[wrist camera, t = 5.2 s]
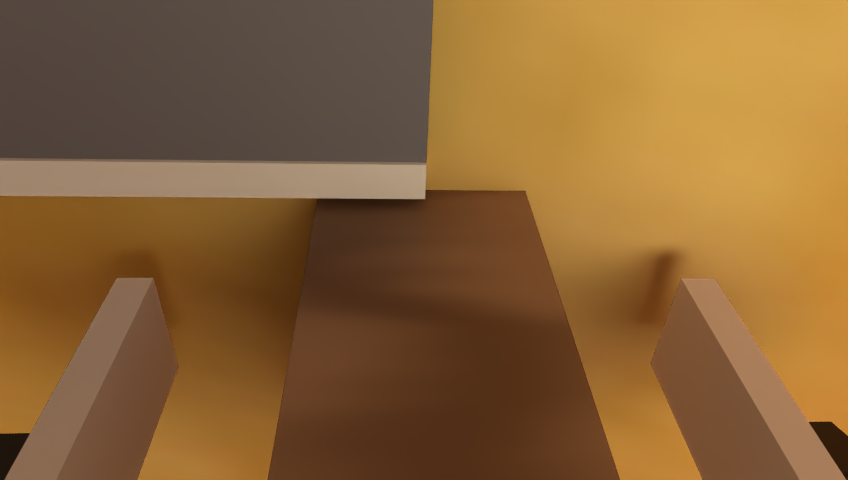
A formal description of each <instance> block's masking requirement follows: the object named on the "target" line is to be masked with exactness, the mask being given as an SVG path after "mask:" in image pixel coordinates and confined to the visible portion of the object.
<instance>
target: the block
mask: <svg viewBox="0 0 848 480" xmlns="http://www.w3.org/2000/svg"><path fill="white" fill-rule="evenodd" d="M268 480H620V478H619V475H618V472H617V469H616V466H615V463H614V460H613V457H612V454H611V451H610V448H609V445H608V442H607V439H606V435H605V432H604V429H603V426H602V423H601V420H600V417H599V414H598V411H597V408H596V405H595V402H594V399H593V396H592V393H591V390H590V387H589V384H588V381H587V378H586V375H585V372H584V369H583V366H582V362H581V359H580V356H579V353H578V350H577V347H576V344H575V341H574V338H573V335H572V332H571V329H570V326H569V323H568V320H567V317H566V314H565V311H564V308H563V305H562V302H561V299H560V296H559V292H558V289H557V286H556V283H555V280H554V277H553V274H552V271H551V268H550V265H549V262H548V259H547V256H546V253H545V250H544V247H543V244H542V241H541V238H540V235H539V232H538V229H537V226H536V223H535V219H534V216H533V213H532V210H531V207H530V204H529V201H528V198H527V195H526V192H525V191H461V190H425V199H342V198H318V199H317V204H316V210H315V216H314V221H313V227H312V233H311V238H310V244H309V249H308V255H307V261H306V266H305V272H304V278H303V283H302V289H301V295H300V300H299V306H298V312H297V317H296V323H295V328H294V334H293V340H292V345H291V351H290V357H289V362H288V368H287V374H286V379H285V385H284V390H283V396H282V402H281V407H280V413H279V419H278V424H277V430H276V436H275V441H274V447H273V452H272V458H271V464H270V469H269V475H268Z"/></svg>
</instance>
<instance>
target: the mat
mask: <svg viewBox="0 0 848 480" xmlns="http://www.w3.org/2000/svg"><path fill="white" fill-rule="evenodd" d="M432 21H433V0H0V196H76V197H209V198H342V199H425V190H426V167H427V164H426V159H427V136H428V113H429V90H430V67H431V44H432Z"/></svg>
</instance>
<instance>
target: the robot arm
mask: <svg viewBox="0 0 848 480" xmlns="http://www.w3.org/2000/svg"><path fill="white" fill-rule="evenodd" d="M651 365H652V368H653V370H654V372H655V374H656V377H657V379H658V381H659V383H660V385H661V388H662V390H663V392H664V394H665V397H666V399H667V401H668V403H669V405H670V408H671V410H672V412H673V414H674V417H675V419H676V421H677V423H678V426H679V428H680V430H681V432H682V434H683V437H684V439H685V441H686V443H687V446H688V448H689V450H690V452H691V455H692V457H693V459H694V461H695V463H696V466H697V468H698V470H699V472H700V475H701V477H702V479H703V480H848V436H847V435H846V434H845V433H844V432H842V431H841V430H840V429H839V428H838V427H837V426H835V425H834V424H833V423H832V422H808V421H807V419H806V417H805V416H804V414H803V413H802V411H801V410H800V408H799V407H798V405H797V404H796V402H795V401H794V399H793V398H792V396H791V395H790V393H789V392H788V390H787V388H786V387H785V385H784V384H783V382H782V381H781V379H780V378H779V376H778V375H777V373H776V372H775V370H774V369H773V367H772V366H771V364H770V363H769V361H768V359H767V358H766V356H765V355H764V353H763V352H762V350H761V349H760V347H759V346H758V344H757V343H756V341H755V340H754V338H753V337H752V335H751V334H750V332H749V330H748V329H747V327H746V326H745V324H744V323H743V321H742V320H741V318H740V317H739V315H738V314H737V312H736V311H735V309H734V308H733V306H732V305H731V303H730V301H729V300H728V298H727V297H726V295H725V294H724V292H723V291H722V289H721V288H720V286H719V285H718V283H717V282H716V280H715V279H714V278H681V280H680V283H679V285H678V288H677V291H676V294H675V296H674V299H673V302H672V305H671V308H670V310H669V313H668V316H667V319H666V322H665V324H664V327H663V330H662V333H661V336H660V338H659V341H658V344H657V347H656V349H655V352H654V355H653V358H652V361H651ZM177 369H178V363H177V360H176V356H175V353H174V349H173V346H172V342H171V339H170V335H169V332H168V328H167V324H166V321H165V317H164V314H163V310H162V307H161V303H160V300H159V296H158V293H157V289H156V285H155V282H154V278H116V280H115V282H114V284H113V285H112V287H111V289H110V291H109V293H108V294H107V296H106V298H105V300H104V302H103V303H102V305H101V307H100V309H99V311H98V312H97V314H96V316H95V318H94V320H93V321H92V323H91V325H90V327H89V329H88V330H87V332H86V334H85V336H84V337H83V339H82V341H81V343H80V345H79V346H78V348H77V350H76V352H75V354H74V355H73V357H72V359H71V361H70V363H69V364H68V366H67V368H66V370H65V372H64V373H63V375H62V377H61V379H60V381H59V382H58V384H57V386H56V388H55V390H54V391H53V393H52V395H51V397H50V399H49V400H48V402H47V404H46V406H45V408H44V409H43V411H42V413H41V415H40V417H39V418H38V420H37V422H36V424H35V426H34V427H33V429H32V431H31V433H18V434H0V480H137V479H138V476H139V473H140V470H141V468H142V465H143V462H144V459H145V457H146V454H147V451H148V448H149V446H150V443H151V440H152V438H153V435H154V432H155V429H156V427H157V424H158V421H159V418H160V416H161V413H162V410H163V407H164V405H165V402H166V399H167V396H168V394H169V391H170V388H171V385H172V383H173V380H174V377H175V375H176V372H177Z"/></svg>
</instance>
